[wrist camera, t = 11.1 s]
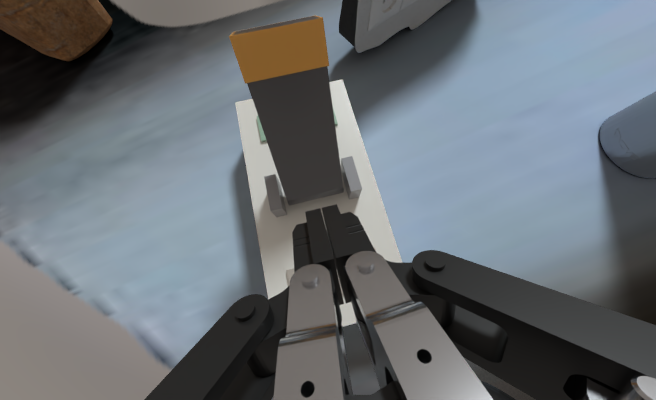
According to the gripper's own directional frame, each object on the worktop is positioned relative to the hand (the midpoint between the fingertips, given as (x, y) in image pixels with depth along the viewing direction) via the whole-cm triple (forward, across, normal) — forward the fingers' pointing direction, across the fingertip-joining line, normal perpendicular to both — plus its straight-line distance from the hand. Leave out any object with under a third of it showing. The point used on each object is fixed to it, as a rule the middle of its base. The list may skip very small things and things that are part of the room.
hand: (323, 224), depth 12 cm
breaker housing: (+16, 0, +8) cm, 18 cm away
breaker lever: (+11, 0, +4) cm, 11 cm away
